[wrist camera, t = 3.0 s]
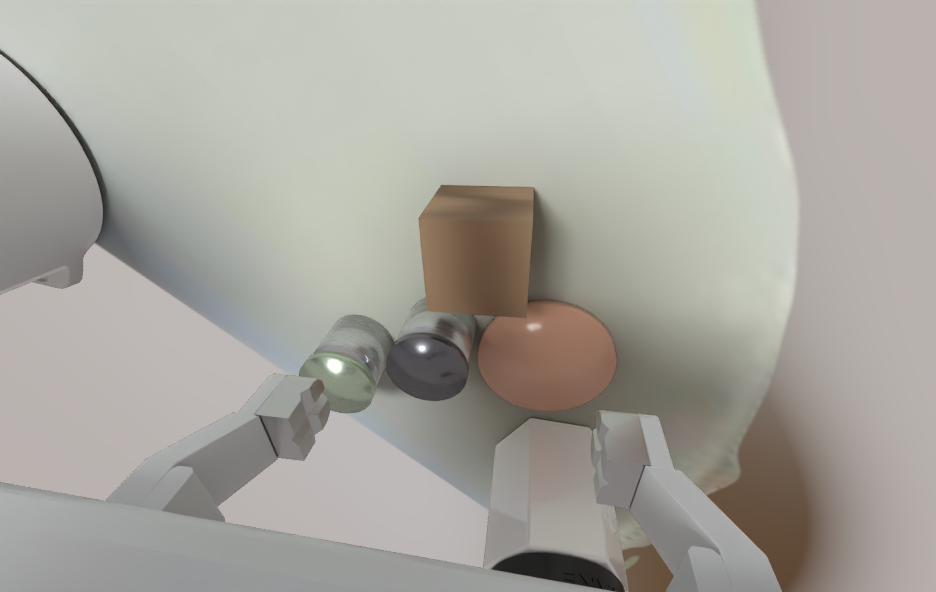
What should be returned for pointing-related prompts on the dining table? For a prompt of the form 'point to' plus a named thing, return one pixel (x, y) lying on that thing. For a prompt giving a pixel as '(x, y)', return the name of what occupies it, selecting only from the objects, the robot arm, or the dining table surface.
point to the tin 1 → (350, 362)
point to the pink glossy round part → (547, 357)
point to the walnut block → (477, 250)
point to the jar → (551, 510)
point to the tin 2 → (432, 353)
